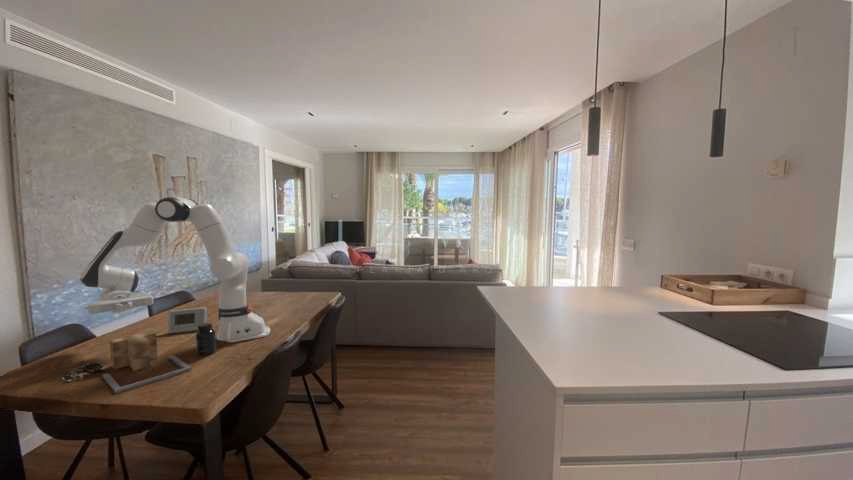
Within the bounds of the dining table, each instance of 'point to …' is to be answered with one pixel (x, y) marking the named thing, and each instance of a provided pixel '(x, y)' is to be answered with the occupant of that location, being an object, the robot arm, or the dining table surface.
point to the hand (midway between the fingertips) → (126, 307)
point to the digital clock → (186, 319)
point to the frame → (118, 389)
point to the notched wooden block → (134, 351)
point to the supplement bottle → (205, 339)
